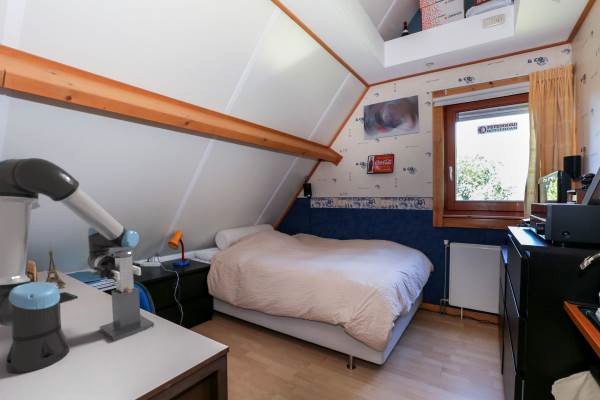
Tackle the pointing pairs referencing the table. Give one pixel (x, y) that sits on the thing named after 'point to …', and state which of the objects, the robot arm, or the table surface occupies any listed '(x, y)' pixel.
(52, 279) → the eiffel tower
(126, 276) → the column
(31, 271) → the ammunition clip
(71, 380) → the table surface
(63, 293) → the phone
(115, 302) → the jack stand base
